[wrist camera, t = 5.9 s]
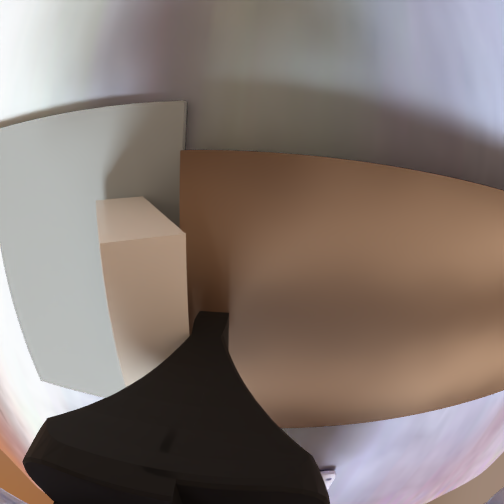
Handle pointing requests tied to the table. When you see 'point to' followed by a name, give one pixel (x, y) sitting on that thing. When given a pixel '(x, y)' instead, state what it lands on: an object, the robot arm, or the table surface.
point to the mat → (78, 225)
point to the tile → (142, 283)
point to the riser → (346, 282)
